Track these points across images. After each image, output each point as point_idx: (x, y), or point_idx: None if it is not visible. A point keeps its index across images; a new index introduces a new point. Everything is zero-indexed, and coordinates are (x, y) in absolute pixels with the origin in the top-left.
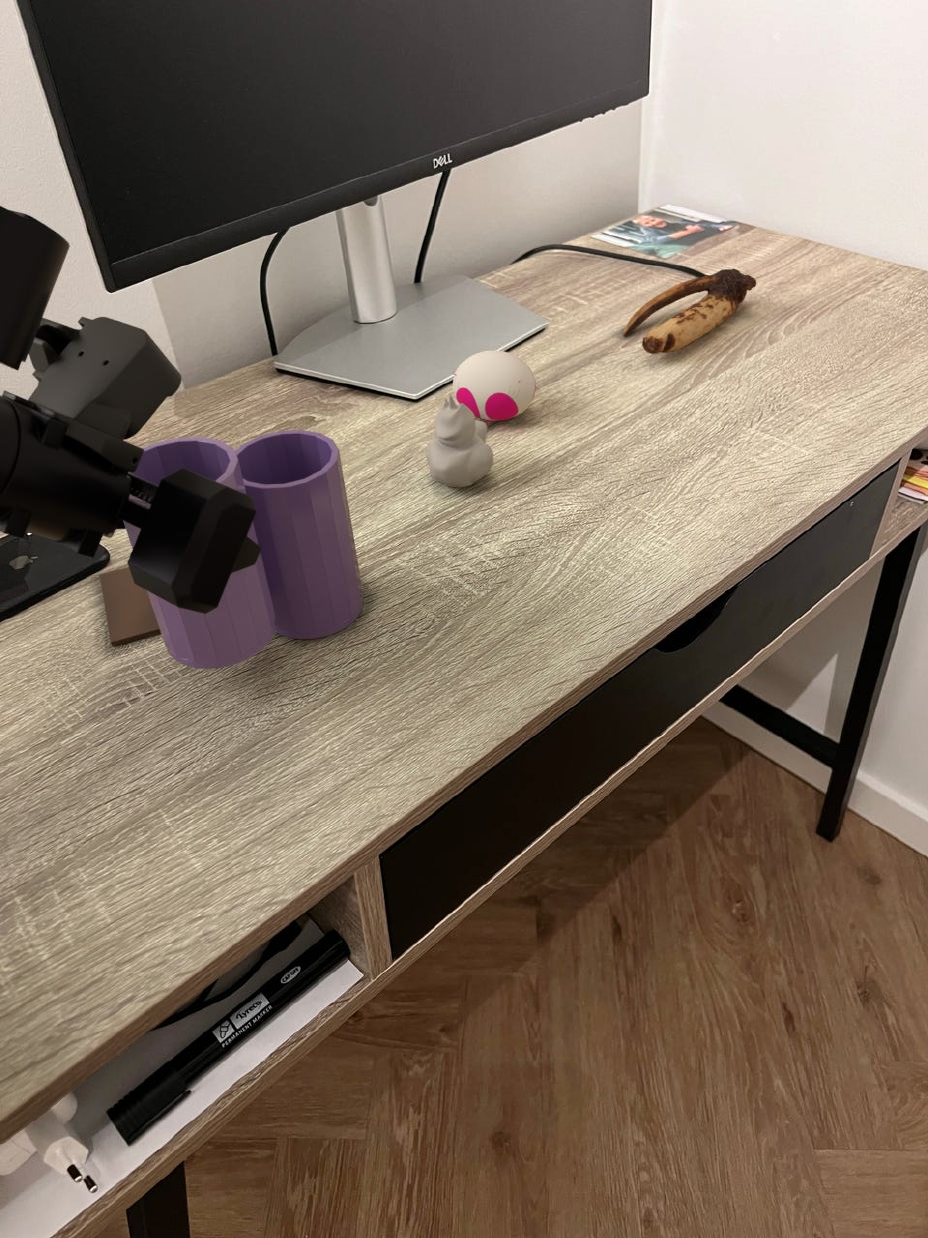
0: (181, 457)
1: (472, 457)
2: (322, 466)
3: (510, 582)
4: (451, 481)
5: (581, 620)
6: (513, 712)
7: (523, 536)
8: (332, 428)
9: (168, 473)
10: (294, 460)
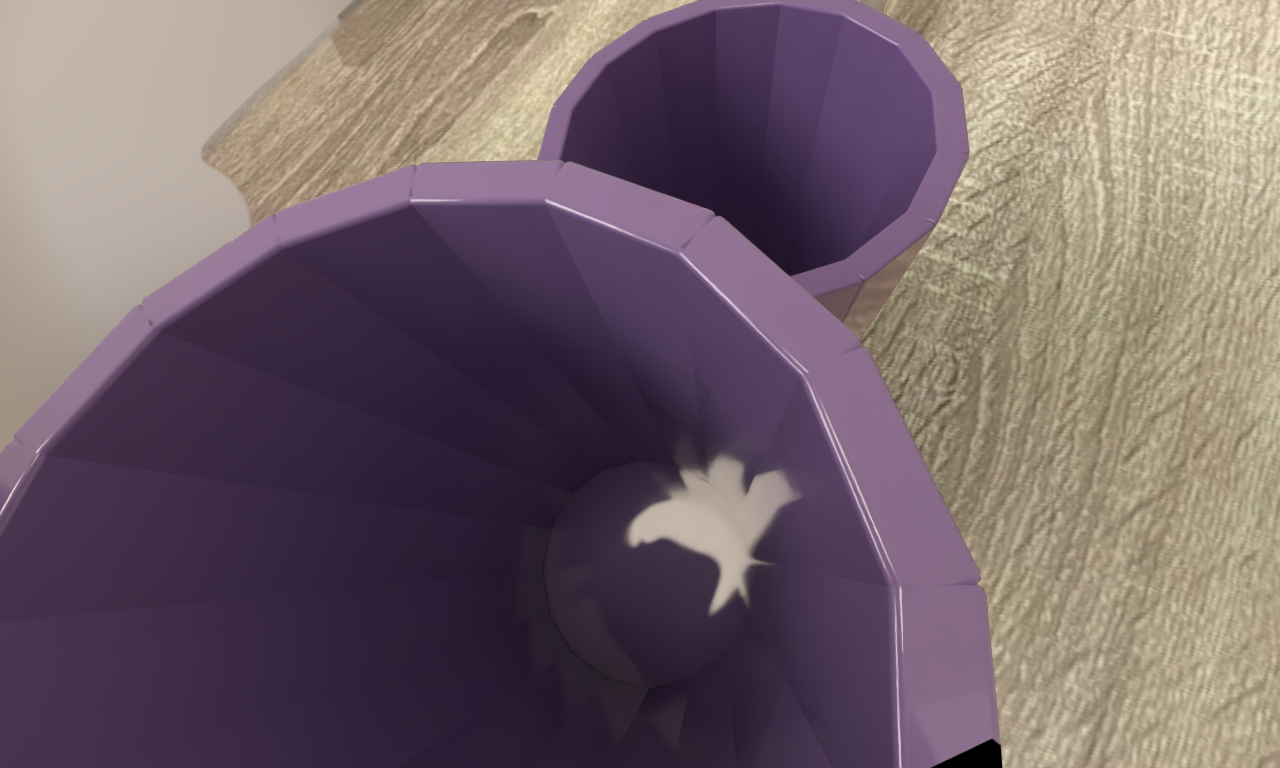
0: (368, 309)
1: (870, 3)
2: (774, 111)
3: (1036, 238)
4: None
5: (1233, 292)
6: (1273, 564)
7: (990, 136)
8: (569, 23)
9: (350, 388)
10: (687, 113)
